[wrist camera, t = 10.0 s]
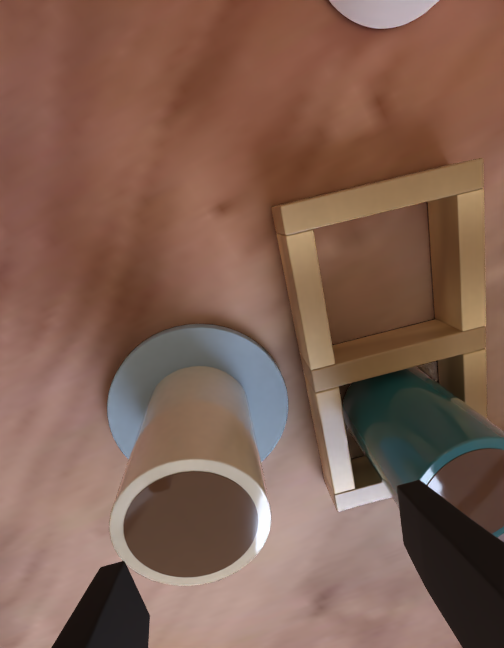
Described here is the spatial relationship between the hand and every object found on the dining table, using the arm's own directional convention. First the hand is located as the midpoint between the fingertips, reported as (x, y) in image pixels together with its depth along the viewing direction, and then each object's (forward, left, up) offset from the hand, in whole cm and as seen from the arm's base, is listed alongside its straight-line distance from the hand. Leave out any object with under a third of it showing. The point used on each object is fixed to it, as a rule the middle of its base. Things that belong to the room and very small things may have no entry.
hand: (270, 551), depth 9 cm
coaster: (-1, +2, -10) cm, 10 cm away
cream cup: (-1, +2, -9) cm, 10 cm away
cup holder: (0, -8, -10) cm, 12 cm away
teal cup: (-4, -8, -10) cm, 13 cm away
